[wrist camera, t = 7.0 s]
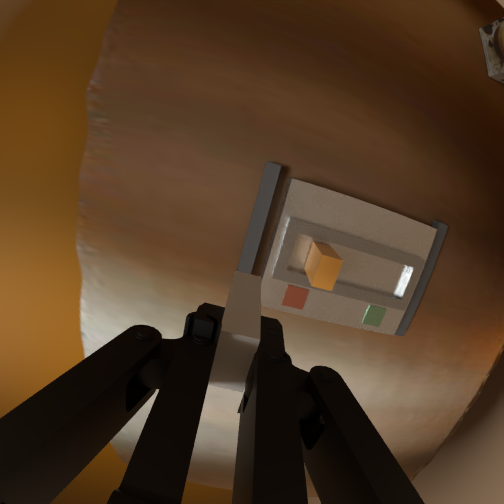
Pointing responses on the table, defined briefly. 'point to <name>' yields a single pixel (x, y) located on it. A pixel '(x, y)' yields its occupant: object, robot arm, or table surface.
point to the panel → (344, 259)
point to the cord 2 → (423, 277)
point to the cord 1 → (259, 217)
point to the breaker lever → (322, 266)
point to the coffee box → (494, 48)
